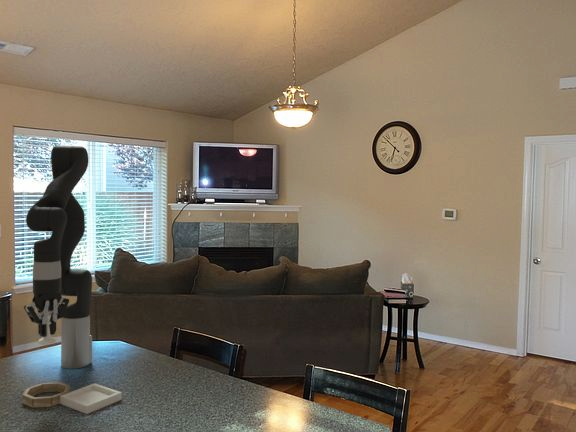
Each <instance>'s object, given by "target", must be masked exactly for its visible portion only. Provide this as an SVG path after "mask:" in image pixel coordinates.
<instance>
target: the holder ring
mask: <svg viewBox="0 0 576 432" xmlns="http://www.w3.org/2000/svg"><path fill="white" fill-rule="evenodd" d="M54 392H55V393H56V392H59V393H57V394H54V395H52V396H37V395H40V394H42V393H54ZM69 392H71V385H69V384H66V383H64V382H60V381H58V382H56V381H55V382H43V383H38V384H34V385H32V386H29V387H27V388H26V389H25V390H24V392H23V393H22V404H23V405H26V406H28V407H30V408H46V407H54V406H57V405H59V404H60V396H61V395H64V394H67V393H69ZM35 396H37V397H35ZM60 405H61V404H60Z"/></svg>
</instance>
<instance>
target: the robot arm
mask: <svg viewBox="0 0 576 432" xmlns="http://www.w3.org/2000/svg"><path fill="white" fill-rule="evenodd" d="M50 164H51V172H52V173H51V175H52V180H51V181H50V182H49V183H48V185H46V187H45V191H44V192H43V195H42V197H41V198H39V199H38V200H37V201H36V202H35V203H34V204H33V205H32V206H31V207H30V209H29V210H28V212H27V214H26V218H25V221H26V222H25V223H26V226H27V227H28V228H29V229H30V231H33V232H40V233H41V232H45V233H46V232H47V233H48V232H49V233H50V232H51V235H50V237H48V238H44V239H40V240H37V241H35V242H34V244H33V264H32V294H33V298H32V300H31V302H30V303H29V304H28V305H27V304H25V305H24V306H23V309H24V311H25V312H26V315H27V316H28V318H29V319H30V321H31V323H34V324H37V327H38V331H37V333H38V335H39V336H40V337H41V338H44V337H46V336H47V324H45V323H46V317H47V315H48V311H50V312H49V314H51V317H50V320H49V321H50V322H51V324H49V328H50V335H51V336H53V335H55V334H56V332H57V321H58V320H59V319H61V321H60V324H61V325H60V327H61V328H60V331H61V333H60V335H61V336H60V337H61V339H60V342H61V343H60V365H61V367H62V368H63V369H68V370H69V369H70V370H71V369H72V370H73V369H81V368H84V367H87V366H89V365H90V364H91V363H92V362H93V335H91V307H92V290H93V277H92V272H91V271H89V270H88V269H81V268H80V269H77V268H71V261H72V256H73V254H74V251H75V249H76V248H77V246H78V245H79V243H80V242H81V240H82V238H83V236H84V234H85V232H86V225H85V223H86V221H85V219H86V217H85V212H84V209H83V207H82V205H81V204H80V202H79V201H78V200H77V198H76V196H74V194H73V193H72V192H73V191H74V189H75V187H76V186H77V185H78V184H79V182H80V181H81V179H82V178H83V176H84V175H85V173H86V171H87V169H88V166H89V152H88V150H87V149H86V147H84V146H82V145H55V146H53V147H52V149H51V153H50ZM64 296H65V297H76V301H75V302H74V303H72V304H69V303H70V299H69V298H65V297H64Z"/></svg>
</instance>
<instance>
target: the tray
mask: <svg viewBox="0 0 576 432" xmlns="http://www.w3.org/2000/svg"><path fill="white" fill-rule="evenodd" d="M122 394H123V393H122V391H120V390H116V389H112V388H109V387H107V386H104V385H101V384H98V383H96V382H94V383H92V384H89V385H86V386H82V387H80V388H78V389H76V390H72V391H70V392H69V393H67V394H64V395H61V396H60V405H63V406H65V407H68V408H69V409H73V410H76V411H79V412H81V413H83V414H86V415H87V414H90V413H92V412H95V411H98V410H100V409H103V408H105V407H107V406H110V405H112V404H114V403H117V402H120V401H122V398H123V396H122Z"/></svg>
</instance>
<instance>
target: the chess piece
mask: <svg viewBox="0 0 576 432" xmlns="http://www.w3.org/2000/svg"><path fill="white" fill-rule="evenodd" d="M49 312H50V311H48V315H47V317H46V323H45V324H47V336H46V337H41V338H39V339H38V342H37V344H38V345H42V346H43V345H44V346H45V345H53V344H56V343H57V338H56V337H54V336H53V335H51V334H50V328H49V324H51V322H50V317H51V314H49Z"/></svg>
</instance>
